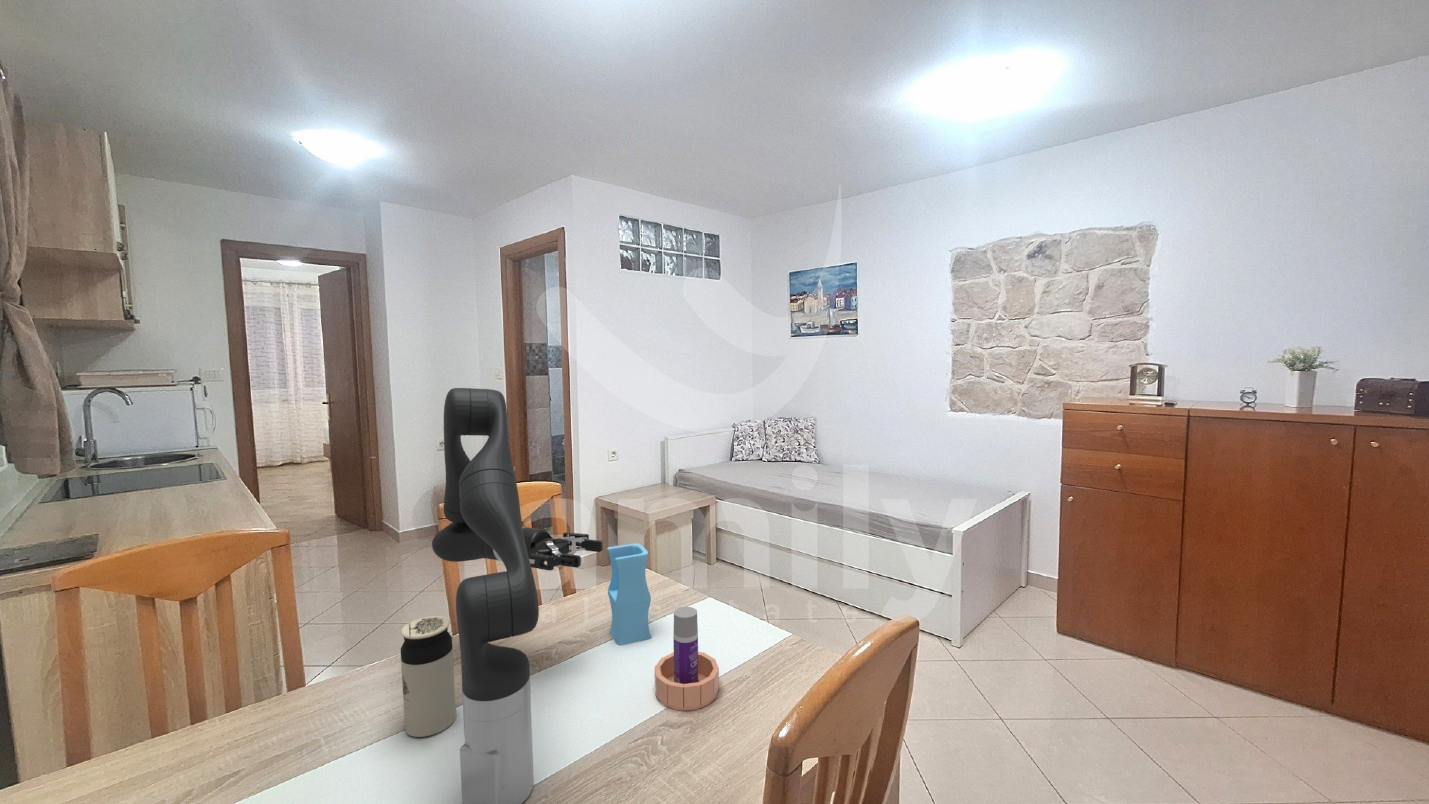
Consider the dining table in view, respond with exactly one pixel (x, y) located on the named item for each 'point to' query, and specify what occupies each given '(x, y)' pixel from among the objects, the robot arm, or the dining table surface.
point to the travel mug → (427, 676)
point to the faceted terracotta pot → (687, 694)
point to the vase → (629, 594)
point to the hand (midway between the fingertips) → (591, 553)
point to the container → (685, 645)
